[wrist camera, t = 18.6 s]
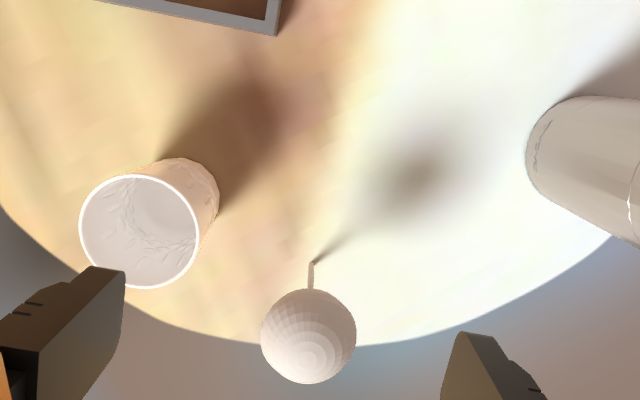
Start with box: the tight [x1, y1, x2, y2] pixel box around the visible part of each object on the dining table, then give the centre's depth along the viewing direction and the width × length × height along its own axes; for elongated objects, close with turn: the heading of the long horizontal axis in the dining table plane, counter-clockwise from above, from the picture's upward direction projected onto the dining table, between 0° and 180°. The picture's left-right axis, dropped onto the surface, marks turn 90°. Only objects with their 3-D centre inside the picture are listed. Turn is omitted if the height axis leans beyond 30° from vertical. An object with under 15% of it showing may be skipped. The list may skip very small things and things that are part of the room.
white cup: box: [79, 157, 220, 289], centre depth 37 cm, size 8×8×10 cm
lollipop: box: [260, 262, 356, 384], centre depth 36 cm, size 6×6×15 cm
